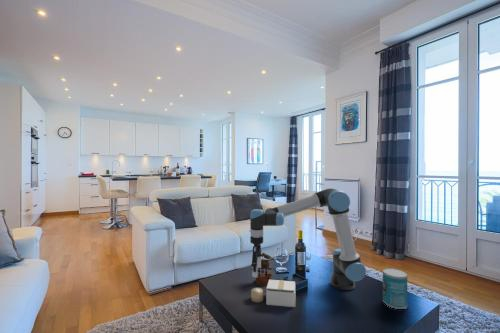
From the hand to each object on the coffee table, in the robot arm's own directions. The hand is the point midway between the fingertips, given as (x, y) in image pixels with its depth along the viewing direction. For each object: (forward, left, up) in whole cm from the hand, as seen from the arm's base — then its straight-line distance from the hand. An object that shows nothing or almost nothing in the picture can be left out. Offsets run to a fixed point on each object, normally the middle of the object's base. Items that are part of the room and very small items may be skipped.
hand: (256, 272), depth 150 cm
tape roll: (0, 0, -16) cm, 16 cm away
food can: (-77, -8, -16) cm, 79 cm away
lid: (-14, -1, -7) cm, 16 cm away
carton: (-14, -1, -16) cm, 21 cm away
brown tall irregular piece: (0, -22, -16) cm, 27 cm away
